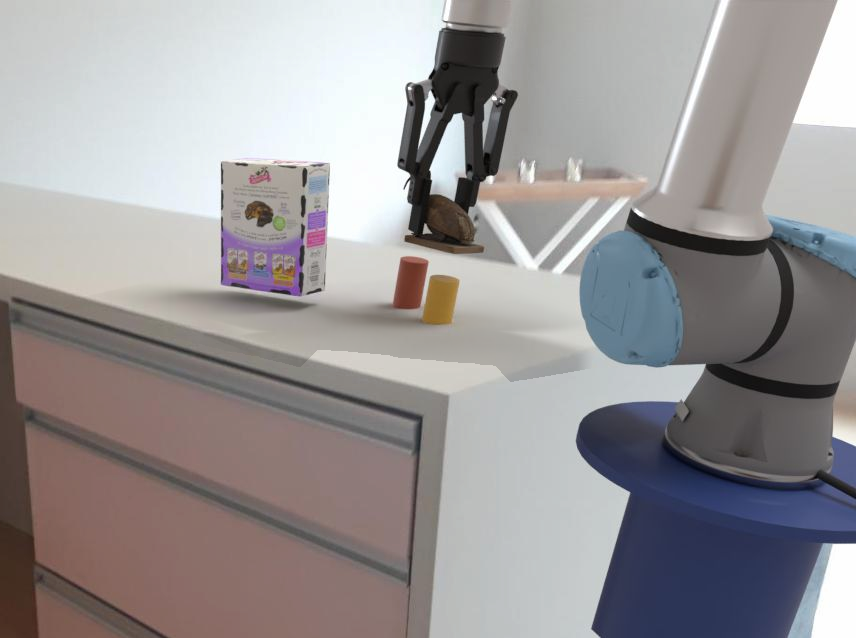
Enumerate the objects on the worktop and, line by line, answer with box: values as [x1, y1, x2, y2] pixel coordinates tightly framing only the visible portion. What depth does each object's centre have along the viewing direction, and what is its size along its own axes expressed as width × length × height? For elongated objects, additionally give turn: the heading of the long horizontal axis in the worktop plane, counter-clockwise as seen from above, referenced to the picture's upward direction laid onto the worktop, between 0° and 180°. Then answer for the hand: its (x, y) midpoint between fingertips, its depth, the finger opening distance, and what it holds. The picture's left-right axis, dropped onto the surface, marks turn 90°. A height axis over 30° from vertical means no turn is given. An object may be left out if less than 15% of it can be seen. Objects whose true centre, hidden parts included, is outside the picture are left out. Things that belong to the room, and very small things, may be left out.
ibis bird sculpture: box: [402, 169, 485, 255], centre depth 141 cm, size 14×4×9 cm, turn 26°
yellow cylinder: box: [421, 274, 461, 325], centre depth 142 cm, size 4×4×7 cm
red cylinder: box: [391, 255, 430, 310], centre depth 150 cm, size 4×4×7 cm
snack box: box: [220, 157, 331, 297], centre depth 151 cm, size 14×6×16 cm, turn 47°
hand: (435, 232), depth 142 cm, fingers closed on ibis bird sculpture, 5 cm apart
